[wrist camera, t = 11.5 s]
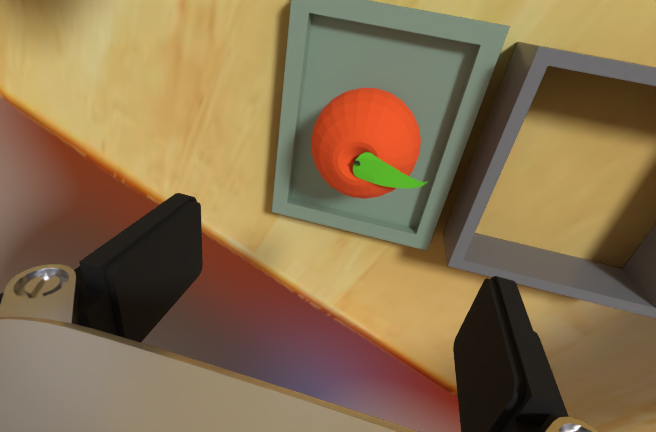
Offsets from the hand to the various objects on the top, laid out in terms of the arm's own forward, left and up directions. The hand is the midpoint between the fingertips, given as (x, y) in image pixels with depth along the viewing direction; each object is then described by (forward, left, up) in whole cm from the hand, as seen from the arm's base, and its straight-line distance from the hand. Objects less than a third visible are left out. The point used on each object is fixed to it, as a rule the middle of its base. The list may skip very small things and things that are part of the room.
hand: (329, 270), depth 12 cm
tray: (0, 0, -18) cm, 18 cm away
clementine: (0, 0, -17) cm, 17 cm away
